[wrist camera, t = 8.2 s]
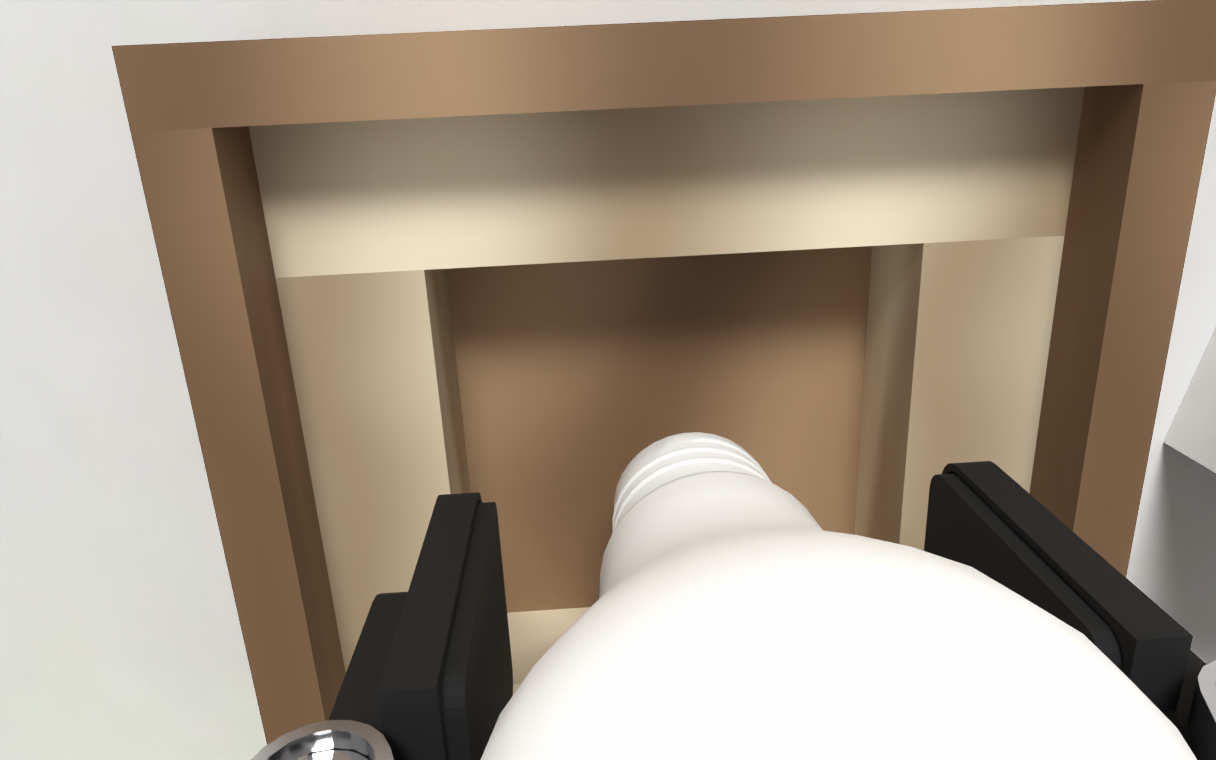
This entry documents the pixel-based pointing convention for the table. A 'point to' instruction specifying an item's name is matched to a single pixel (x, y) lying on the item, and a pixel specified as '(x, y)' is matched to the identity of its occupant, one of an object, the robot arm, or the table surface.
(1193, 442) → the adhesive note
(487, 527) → the robot arm
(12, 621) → the table surface
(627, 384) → the socket box
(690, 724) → the lightbulb
